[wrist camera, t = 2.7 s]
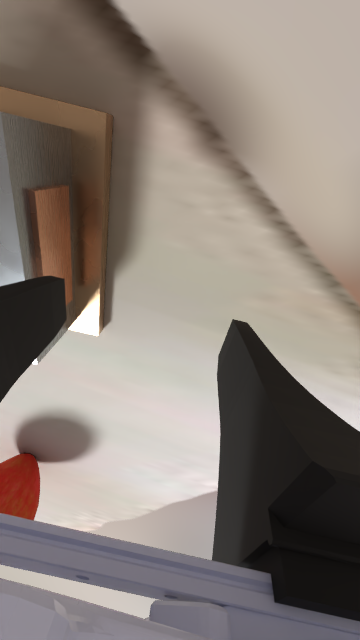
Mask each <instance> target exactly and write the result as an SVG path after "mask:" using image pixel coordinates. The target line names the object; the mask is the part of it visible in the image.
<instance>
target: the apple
mask: <svg viewBox="0 0 360 640" xmlns="http://www.w3.org/2000/svg"><path fill="white" fill-rule="evenodd" d="M39 495H40V474H39V467H38V463H37V461H36V459H35V457H34V456H33V455H31V454H28V453H24V454H20V455H17V456H15V457H12V458H10V459H8V460H6V461H4V462H2V463H0V513H3V514H7V515H12V516H16V517H20V518H25V519H29V520H34V517H35V514H36V511H37V508H38V504H39Z"/></svg>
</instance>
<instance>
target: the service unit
mask: <svg viewBox="0 0 360 640" xmlns="http://www.w3.org/2000/svg"><path fill="white" fill-rule="evenodd" d="M112 128H113V116H112V115H110V114H108V113H105V112H101V111H97V110H93V109H89V108H85V107H81V106H77V105H73V104H69V103H65V102H61V101H57V100H53V99H49V98H45V97H41V96H37V95H33V94H29V93H25V92H21V91H17V90H13V89H9V88H5V87H2V86H0V286H4V285H8V284H12V283H16V282H20V281H24V280H28V279H33V278H37V277H42V276H50V275H51V276H55V277H59V278H63V279H65V296H66V316H67V320H66V321H65V323H64V325H63V326H62V328H61V329H60V331H59V332H58V334H57V335H56V337H55V338H54V339H53V340H52V341H51V343H50V344H49V345H48V346H47V347H46V348H45V349H44V351H43V352H42V353H41V354H40V355H39V356H38V357H37V358H36V359H35V360H34V362H33V363H32V364H38V363H39V362H40V361H41V360H42V359H43V357H44V356H45V355H46V354H47V353H48V352H49V351H50V349H51V348H52V347H53V346H54V345H55V344H56V343H57V341H58V340H59V339H60V338H61V337H62V336H63V335H64V333H65V332H66V331H67V330H68V329H70V330H74V331H79V332H83V333H87V334H91V335H96V336H99V334H100V333H101V331H102V330H103V319H104V298H105V276H106V255H107V234H108V213H109V192H110V171H111V149H112Z"/></svg>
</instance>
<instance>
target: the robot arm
mask: <svg viewBox="0 0 360 640" xmlns="http://www.w3.org/2000/svg"><path fill="white" fill-rule="evenodd" d="M66 320H67V316H66V296H65V279H63V278H59V277H55V276H51V275H50V276H42V277H37V278H33V279H28V280H24V281H20V282H16V283H12V284H8V285H4V286H0V402H1V401H2V399H3V398H4V397H5V395H6V394H7V393H8V391H9V390H10V388H11V387H12V386H13V384H14V383H15V382H16V381H17V380H18V378H19V377H20V376H21V375H22V374H23V373H24V372H25V370H26V369H27V368H28V367H29V366H30V365H31V364H32V363H33V362H34V360H35V359H36V358H37V357H38V356H39V355H40V354H41V353H42V352H43V351H44V349H45V348H46V347H47V346H48V345H49V344H50V343H51V341H52V340H53V339H54V338H55V337H56V335H57V334H58V332H59V331H60V329H61V328H62V326H63V325H64V323H65V321H66ZM217 381H218V397H219V411H220V431H221V436H220V462H219V481H218V496H217V510H216V522H215V534H214V545H213V556H212V560H207V559H202V558H198V557H194V556H189V555H185V554H181V553H176V552H172V551H167V550H163V549H158V548H154V547H149V546H145V545H141V544H136V543H131V542H127V541H122V540H118V539H114V538H109V537H105V536H100V535H96V534H92V533H87V532H83V531H78V530H74V529H69V528H65V527H60V526H56V525H52V524H47V523H43V522H38V521H34V520H29V519H25V518H20V517H16V516H12V515H7V514H3V513H0V564H1V565H5V566H10V567H14V568H19V569H23V570H28V571H33V572H37V573H42V574H46V575H51V576H55V577H60V578H64V579H69V580H73V581H78V582H83V583H87V584H91V585H96V586H100V587H105V588H109V589H114V590H118V591H123V592H127V593H132V594H136V595H141V596H145V597H150V598H155V599H159V600H156V601H154V602H153V604H152V605H151V608H150V615H149V617H148V618H146V619H143V618H139V617H136V616H133V615H129V614H126V613H123V612H119V611H116V610H113V609H109V608H106V607H103V606H99V605H96V604H92V603H89V602H86V601H82V600H79V599H76V598H72V597H68V596H65V595H61V594H58V593H54V592H51V591H47V590H44V589H40V588H37V587H33V586H29V585H25V584H21V583H17V582H13V581H9V580H5V579H1V578H0V640H360V432H359V431H358V430H356V429H355V428H353V427H352V426H351V425H349V424H348V423H347V422H345V421H344V420H343V419H341V418H340V417H339V416H337V415H336V414H335V413H333V412H332V411H331V410H330V409H328V408H327V407H326V406H325V405H324V404H322V403H321V402H320V401H319V400H317V399H316V398H315V397H314V396H313V395H312V394H311V393H309V392H308V391H307V390H306V389H305V388H304V387H303V386H302V385H301V384H300V383H299V382H298V381H297V380H296V379H295V378H294V377H293V376H292V375H291V374H290V373H289V372H288V371H287V370H286V369H285V368H284V367H283V366H282V365H281V364H280V363H279V361H278V360H277V359H276V358H275V357H274V356H273V354H272V353H271V352H270V351H269V350H268V348H267V347H266V346H265V345H264V343H263V342H262V341H261V340H260V338H259V337H258V336H257V334H256V333H255V332H254V331H253V329H252V328H251V327H250V326H249V324H248V323H246V322H242V321H238V320H234V319H233V320H232V323H231V325H230V328H229V330H228V333H227V335H226V338H225V341H224V343H223V346H222V348H221V351H220V353H219V357H218V371H217ZM162 600H163V601H162Z"/></svg>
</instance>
